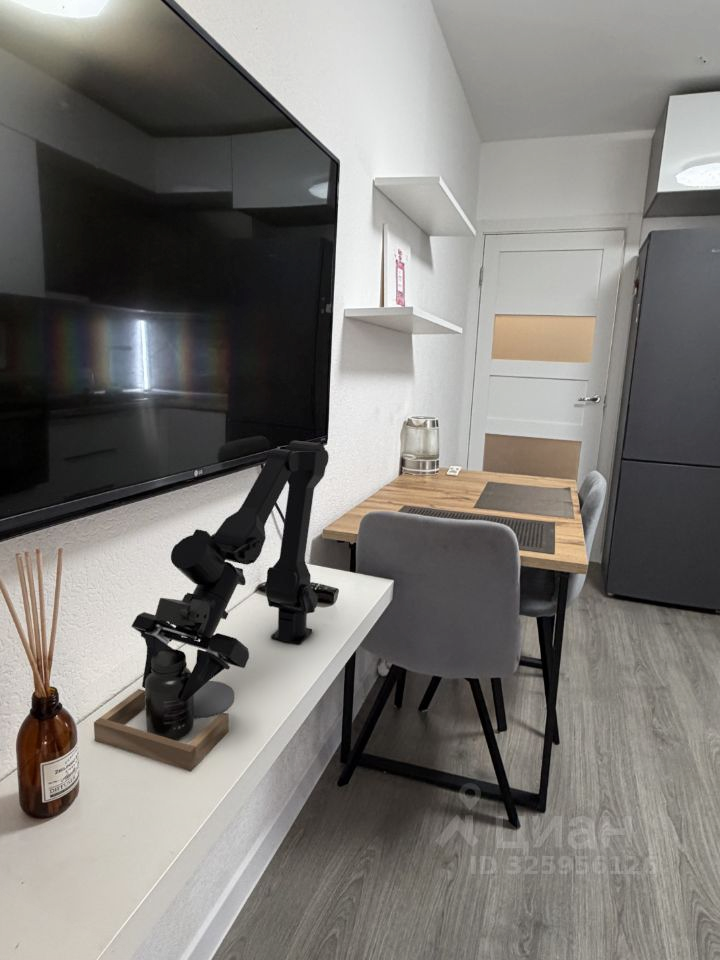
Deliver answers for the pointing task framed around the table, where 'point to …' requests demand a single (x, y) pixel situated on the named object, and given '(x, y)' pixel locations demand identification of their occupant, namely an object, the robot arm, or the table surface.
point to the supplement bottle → (168, 696)
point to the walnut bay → (152, 745)
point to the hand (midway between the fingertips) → (163, 694)
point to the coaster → (212, 699)
